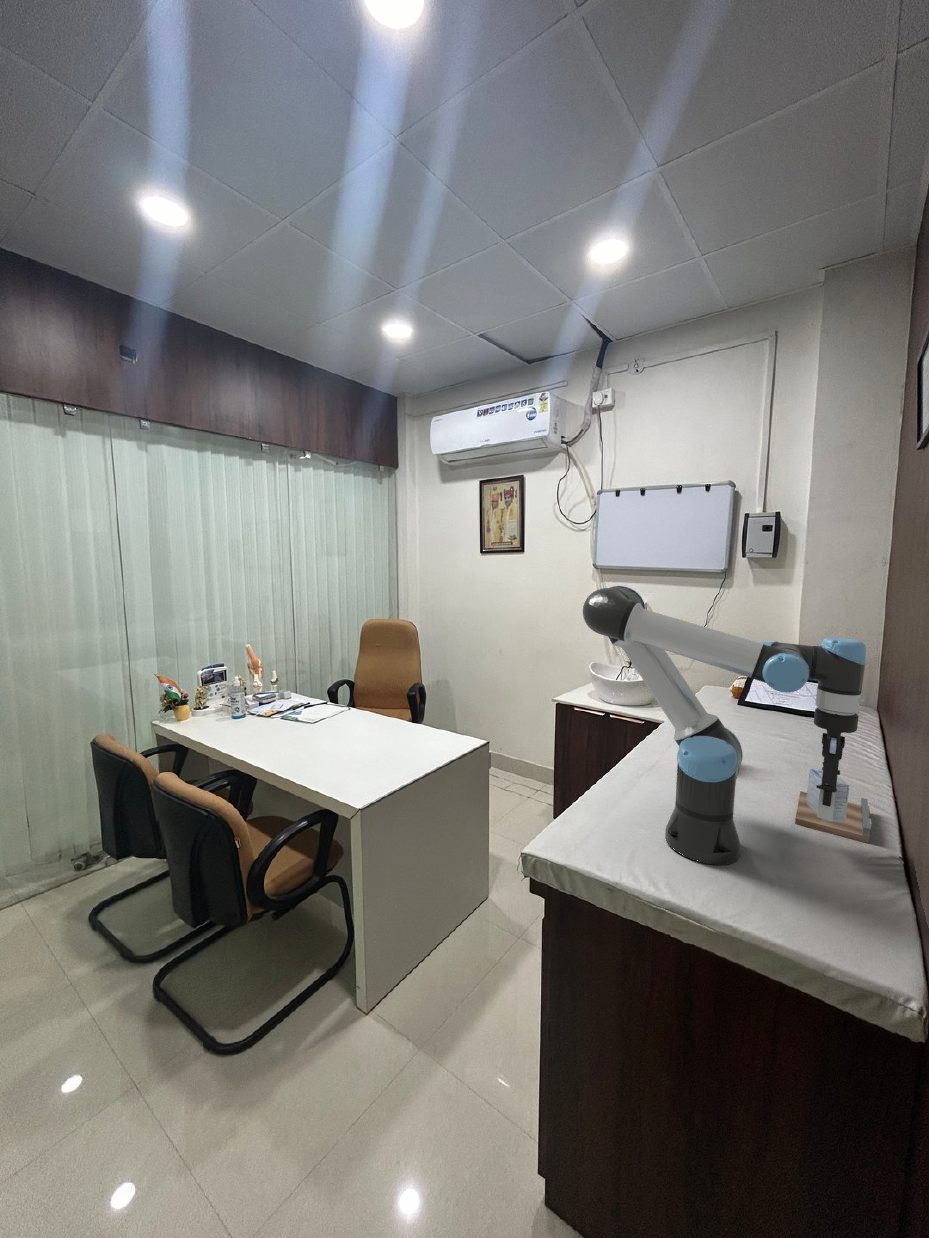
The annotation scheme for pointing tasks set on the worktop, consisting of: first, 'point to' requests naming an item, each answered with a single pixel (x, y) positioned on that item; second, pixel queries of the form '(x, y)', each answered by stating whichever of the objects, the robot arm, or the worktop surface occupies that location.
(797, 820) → the shelf board
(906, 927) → the worktop surface
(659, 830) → the worktop surface
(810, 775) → the medicine box
